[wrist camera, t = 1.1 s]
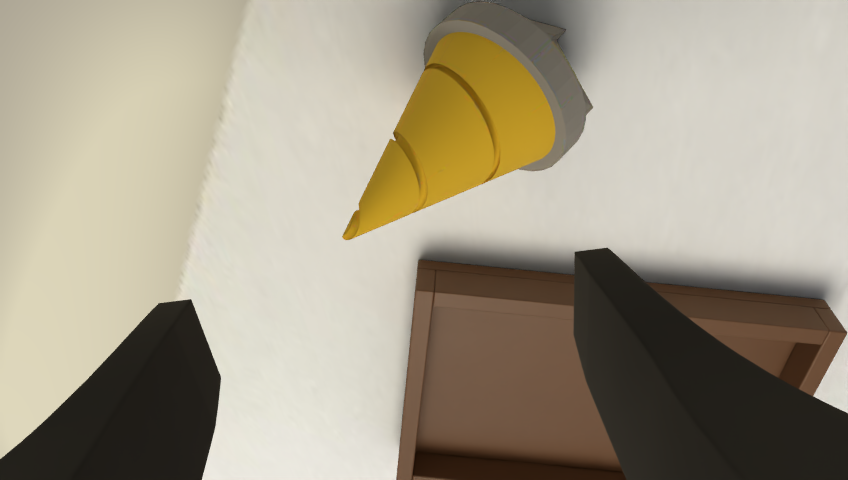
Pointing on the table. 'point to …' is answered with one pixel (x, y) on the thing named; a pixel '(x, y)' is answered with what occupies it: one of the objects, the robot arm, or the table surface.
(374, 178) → the drill bit
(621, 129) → the table surface
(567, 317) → the tray
